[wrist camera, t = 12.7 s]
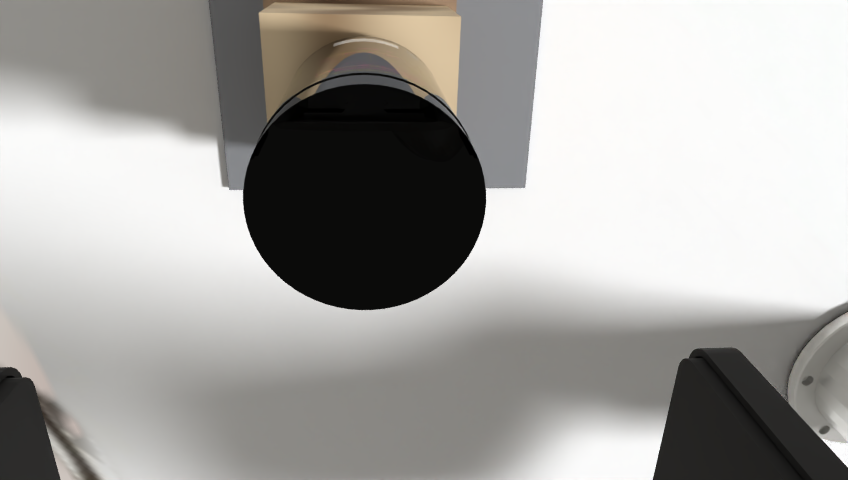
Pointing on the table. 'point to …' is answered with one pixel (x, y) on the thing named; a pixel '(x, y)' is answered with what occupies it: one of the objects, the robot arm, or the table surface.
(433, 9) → the tower top
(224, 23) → the felt pad
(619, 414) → the table surface
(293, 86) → the supplement container
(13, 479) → the robot arm
